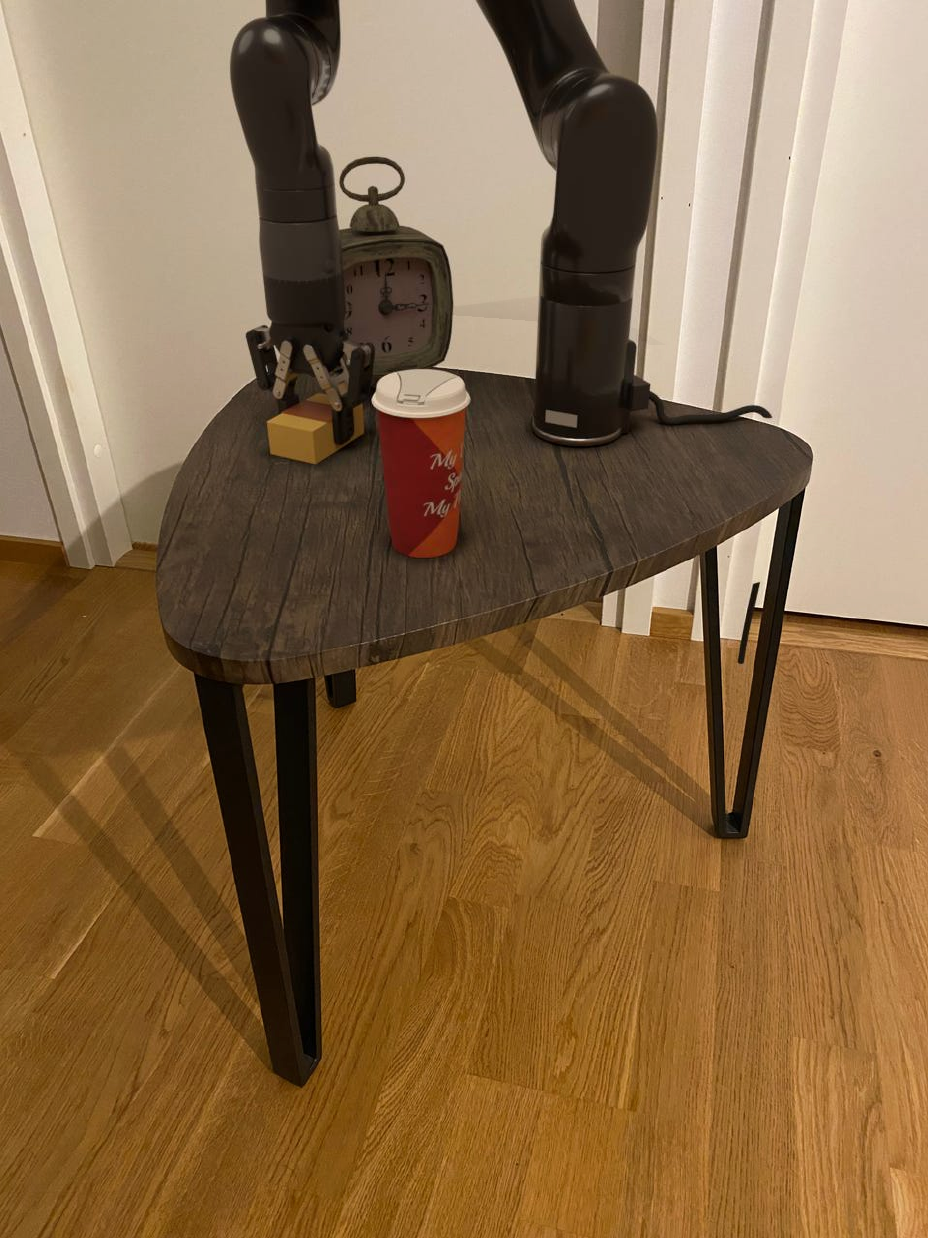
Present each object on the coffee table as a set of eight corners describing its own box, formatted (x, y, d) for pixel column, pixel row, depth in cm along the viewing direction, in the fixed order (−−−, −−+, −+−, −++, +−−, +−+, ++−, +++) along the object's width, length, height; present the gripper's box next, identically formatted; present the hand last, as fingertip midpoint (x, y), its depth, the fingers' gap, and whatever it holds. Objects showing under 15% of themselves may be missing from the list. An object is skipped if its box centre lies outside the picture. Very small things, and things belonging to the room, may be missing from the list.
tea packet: (320, 423, 106) (317, 391, 104) (364, 433, 103) (362, 400, 101) (269, 454, 99) (266, 420, 97) (316, 464, 97) (312, 430, 95)
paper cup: (459, 569, 80) (459, 404, 72) (368, 559, 81) (358, 396, 73) (477, 524, 86) (479, 369, 78) (393, 516, 87) (386, 362, 80)
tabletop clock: (330, 415, 107) (311, 167, 94) (310, 388, 115) (290, 153, 101) (454, 397, 112) (452, 158, 98) (427, 373, 119) (422, 146, 105)
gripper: (389, 266, 91) (396, 436, 101) (264, 250, 97) (282, 412, 106) (345, 285, 86) (356, 463, 95) (215, 266, 91) (238, 436, 101)
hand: (317, 435), depth 101 cm, fingers closed on tea packet, 5 cm apart
